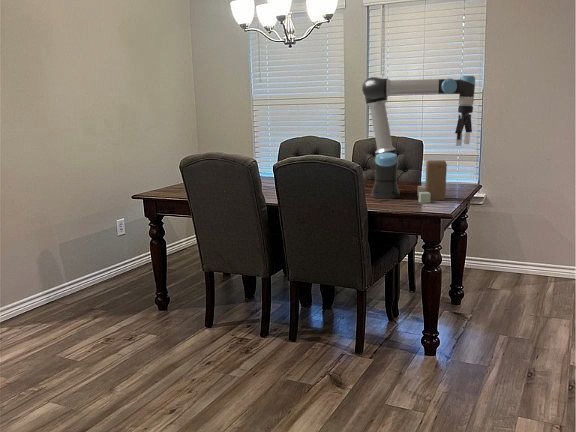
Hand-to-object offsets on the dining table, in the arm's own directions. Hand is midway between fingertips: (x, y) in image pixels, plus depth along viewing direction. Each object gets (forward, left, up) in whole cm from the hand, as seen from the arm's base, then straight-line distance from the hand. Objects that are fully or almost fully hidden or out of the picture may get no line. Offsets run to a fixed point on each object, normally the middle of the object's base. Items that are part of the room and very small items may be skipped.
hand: (462, 145), depth 310 cm
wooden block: (-15, -15, -28) cm, 35 cm away
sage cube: (-21, -25, -27) cm, 43 cm away
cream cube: (-21, -5, -27) cm, 35 cm away
